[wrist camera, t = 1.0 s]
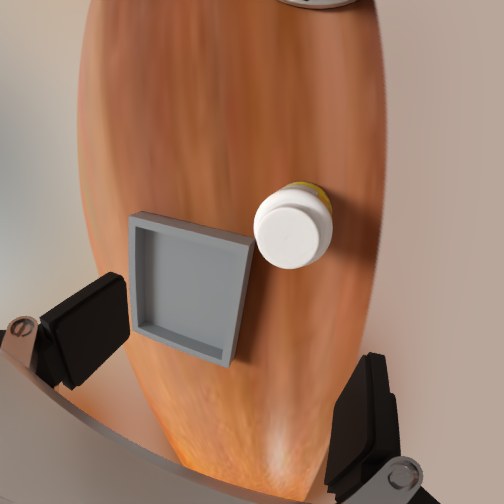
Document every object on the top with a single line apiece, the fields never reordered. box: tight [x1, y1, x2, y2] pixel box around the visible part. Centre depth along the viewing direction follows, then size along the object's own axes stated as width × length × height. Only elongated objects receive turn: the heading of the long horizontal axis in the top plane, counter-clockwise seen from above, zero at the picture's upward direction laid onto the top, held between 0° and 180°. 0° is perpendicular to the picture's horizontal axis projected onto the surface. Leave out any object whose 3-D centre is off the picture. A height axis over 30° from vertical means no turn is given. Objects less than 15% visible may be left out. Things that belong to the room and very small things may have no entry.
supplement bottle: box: [254, 181, 333, 269], centre depth 22 cm, size 6×6×10 cm
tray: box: [129, 211, 256, 368], centre depth 32 cm, size 16×14×2 cm
